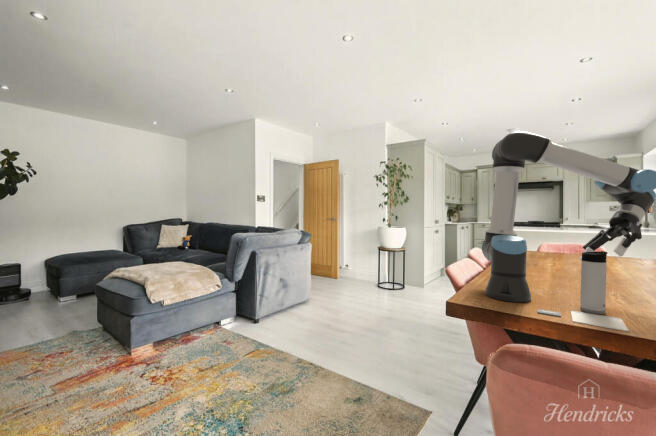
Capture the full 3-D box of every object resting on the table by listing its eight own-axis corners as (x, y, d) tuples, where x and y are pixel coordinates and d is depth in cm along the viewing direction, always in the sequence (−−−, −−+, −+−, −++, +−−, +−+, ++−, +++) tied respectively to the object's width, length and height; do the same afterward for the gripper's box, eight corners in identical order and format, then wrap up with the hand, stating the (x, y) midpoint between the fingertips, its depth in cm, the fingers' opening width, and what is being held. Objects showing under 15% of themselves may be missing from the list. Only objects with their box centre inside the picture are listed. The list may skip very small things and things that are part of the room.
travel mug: (611, 315, 96) (613, 252, 96) (587, 313, 98) (589, 252, 97) (598, 309, 102) (599, 250, 102) (575, 307, 104) (577, 249, 103)
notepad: (572, 321, 90) (572, 320, 90) (570, 311, 100) (570, 310, 100) (628, 331, 83) (628, 330, 83) (620, 319, 92) (620, 318, 92)
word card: (537, 313, 98) (537, 311, 98) (537, 310, 101) (537, 308, 101) (560, 317, 94) (560, 315, 94) (560, 313, 97) (560, 312, 97)
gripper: (673, 214, 100) (645, 258, 94) (604, 235, 124) (578, 270, 118) (653, 199, 102) (624, 241, 96) (588, 222, 125) (562, 257, 119)
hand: (599, 257), depth 107 cm, fingers open, 13 cm apart
